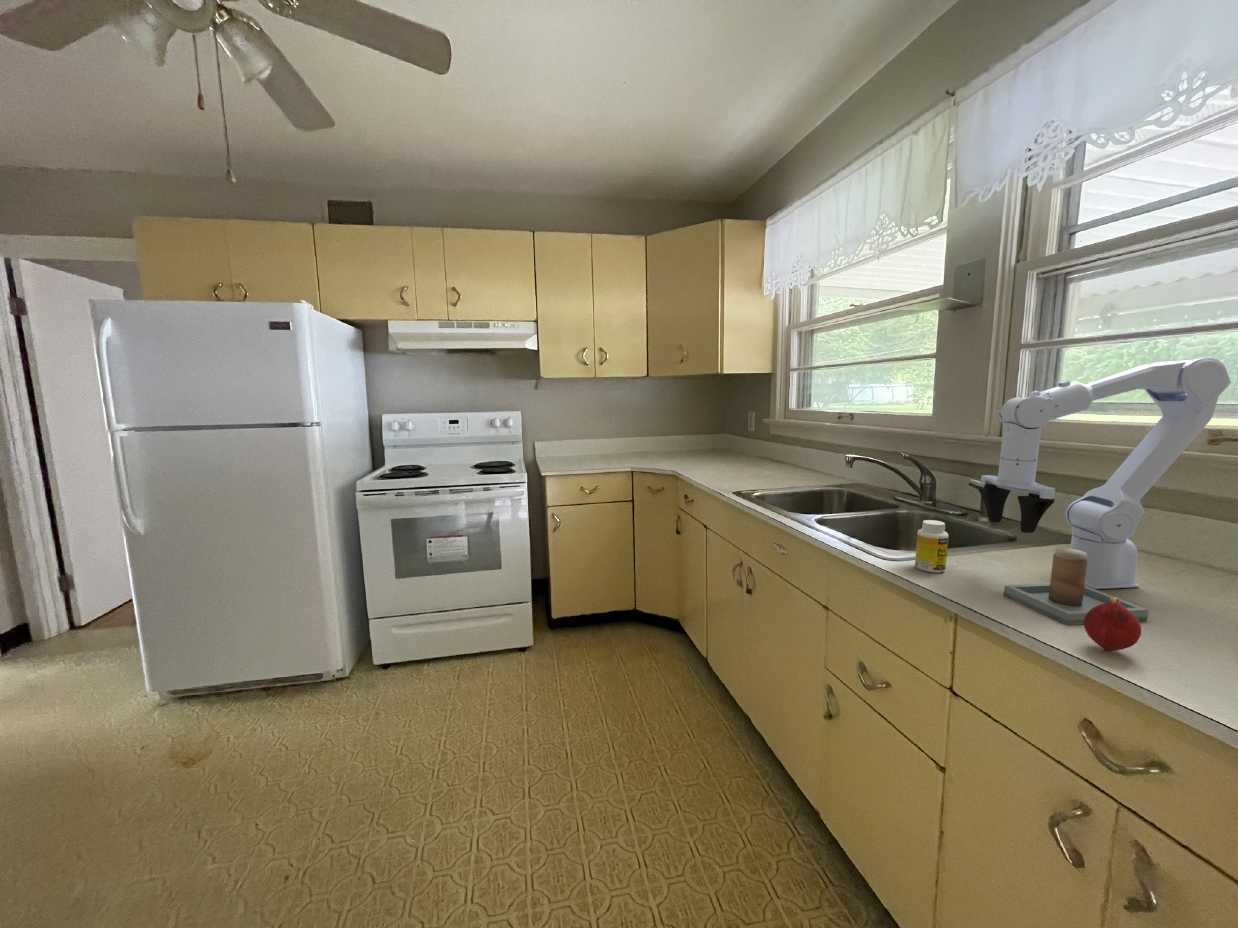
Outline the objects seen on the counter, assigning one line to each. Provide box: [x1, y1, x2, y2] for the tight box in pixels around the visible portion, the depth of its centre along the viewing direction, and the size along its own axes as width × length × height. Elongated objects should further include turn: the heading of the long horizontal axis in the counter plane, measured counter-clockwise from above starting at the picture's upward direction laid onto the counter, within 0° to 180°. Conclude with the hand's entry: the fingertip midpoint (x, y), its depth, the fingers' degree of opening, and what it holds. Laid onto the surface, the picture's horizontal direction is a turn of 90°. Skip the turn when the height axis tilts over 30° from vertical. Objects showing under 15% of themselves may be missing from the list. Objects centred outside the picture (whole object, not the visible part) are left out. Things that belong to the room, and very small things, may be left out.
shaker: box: [1048, 547, 1088, 606], centre depth 86 cm, size 4×4×9 cm
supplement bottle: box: [914, 519, 950, 574], centre depth 104 cm, size 6×6×10 cm
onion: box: [1083, 596, 1142, 652], centre depth 70 cm, size 6×6×8 cm
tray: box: [1003, 582, 1150, 625], centre depth 85 cm, size 14×12×2 cm
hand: (1010, 526), depth 98 cm, fingers open, 7 cm apart
